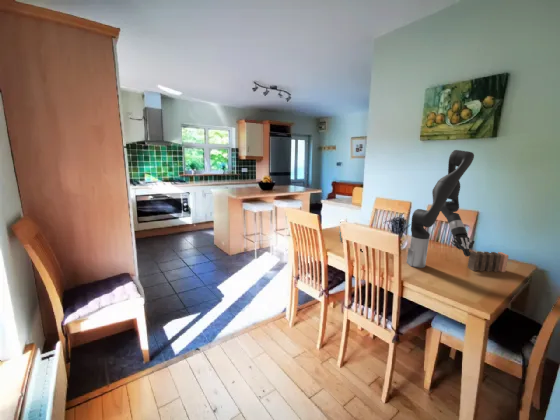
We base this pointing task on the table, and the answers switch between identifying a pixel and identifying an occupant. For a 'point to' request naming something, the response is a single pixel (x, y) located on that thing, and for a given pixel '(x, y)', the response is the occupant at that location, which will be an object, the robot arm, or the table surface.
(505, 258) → the domino
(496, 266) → the domino
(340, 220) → the ink box
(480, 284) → the table surface
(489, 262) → the domino
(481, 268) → the domino
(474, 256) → the domino
